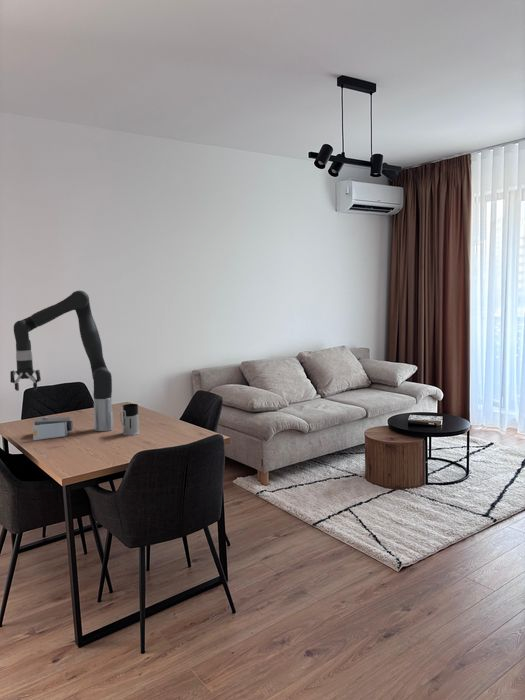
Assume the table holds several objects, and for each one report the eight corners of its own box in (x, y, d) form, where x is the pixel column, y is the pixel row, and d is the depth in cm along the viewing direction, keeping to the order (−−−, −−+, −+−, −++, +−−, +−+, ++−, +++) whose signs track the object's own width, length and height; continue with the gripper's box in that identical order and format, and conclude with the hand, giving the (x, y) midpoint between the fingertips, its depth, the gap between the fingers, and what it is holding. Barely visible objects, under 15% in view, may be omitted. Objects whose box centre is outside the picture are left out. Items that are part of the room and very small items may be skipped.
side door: (66, 435, 279) (66, 422, 278) (67, 436, 277) (66, 422, 277) (33, 439, 271) (32, 425, 270) (33, 440, 269) (33, 426, 269)
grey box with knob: (73, 431, 289) (73, 415, 288) (68, 436, 279) (68, 419, 278) (41, 432, 287) (40, 416, 287) (35, 437, 277) (34, 420, 277)
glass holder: (142, 432, 288) (142, 403, 286) (129, 438, 274) (128, 409, 273) (127, 431, 290) (127, 403, 288) (113, 437, 276) (112, 408, 275)
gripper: (7, 360, 275) (9, 392, 277) (36, 359, 277) (38, 391, 279) (12, 358, 283) (14, 389, 285) (40, 357, 285) (42, 388, 286)
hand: (26, 390), depth 282 cm, fingers open, 8 cm apart
